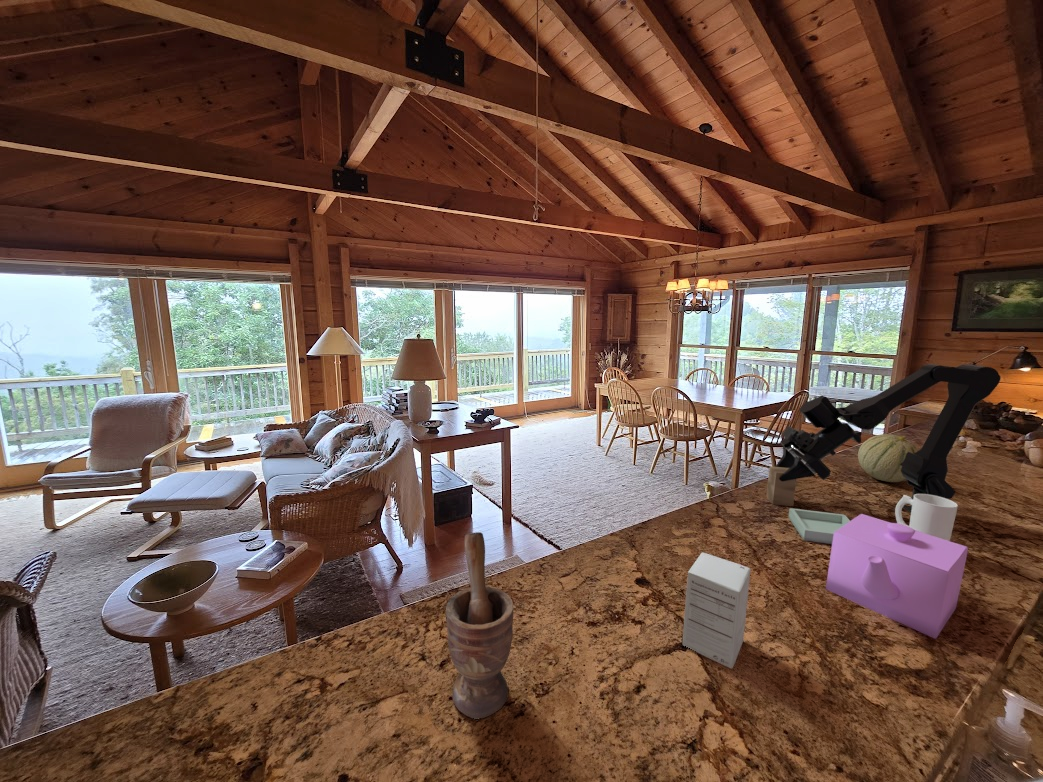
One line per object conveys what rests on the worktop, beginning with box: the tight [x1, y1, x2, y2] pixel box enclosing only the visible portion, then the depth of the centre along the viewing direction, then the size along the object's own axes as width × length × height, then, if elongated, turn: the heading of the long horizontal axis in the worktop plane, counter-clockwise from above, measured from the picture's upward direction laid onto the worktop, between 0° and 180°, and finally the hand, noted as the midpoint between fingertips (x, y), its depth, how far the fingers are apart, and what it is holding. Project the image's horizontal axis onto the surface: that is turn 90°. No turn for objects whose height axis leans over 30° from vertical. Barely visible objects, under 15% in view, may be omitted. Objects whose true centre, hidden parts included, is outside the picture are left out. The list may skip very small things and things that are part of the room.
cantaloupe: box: [857, 433, 920, 483], centre depth 132 cm, size 15×15×15 cm
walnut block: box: [765, 466, 797, 507], centre depth 117 cm, size 5×5×9 cm
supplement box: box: [682, 551, 752, 669], centre depth 65 cm, size 7×7×13 cm
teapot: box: [825, 513, 969, 640], centre depth 75 cm, size 15×25×14 cm, turn 125°
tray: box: [788, 507, 851, 545], centre depth 101 cm, size 12×12×2 cm
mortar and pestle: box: [445, 531, 514, 720], centre depth 57 cm, size 12×9×20 cm
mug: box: [894, 494, 959, 542], centre depth 93 cm, size 10×7×12 cm, turn 18°
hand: (776, 476), depth 117 cm, fingers closed on walnut block, 5 cm apart
